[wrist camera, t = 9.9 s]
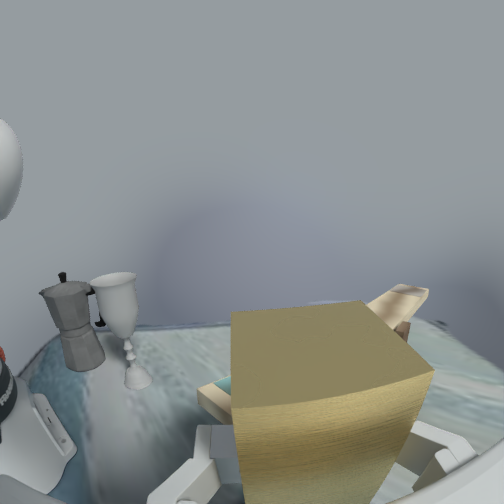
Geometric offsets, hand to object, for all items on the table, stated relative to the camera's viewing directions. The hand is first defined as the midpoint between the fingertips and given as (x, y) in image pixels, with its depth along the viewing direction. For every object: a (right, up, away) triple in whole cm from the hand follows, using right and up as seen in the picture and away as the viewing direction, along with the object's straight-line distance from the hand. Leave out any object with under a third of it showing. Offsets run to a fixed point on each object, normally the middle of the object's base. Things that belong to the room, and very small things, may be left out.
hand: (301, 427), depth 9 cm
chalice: (-21, -15, +32) cm, 41 cm away
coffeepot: (-33, -15, +36) cm, 52 cm away
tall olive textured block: (0, -6, 0) cm, 6 cm away
